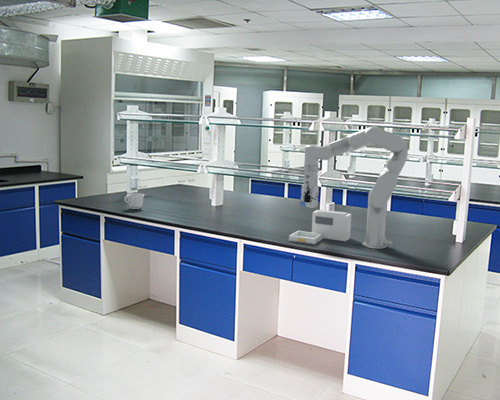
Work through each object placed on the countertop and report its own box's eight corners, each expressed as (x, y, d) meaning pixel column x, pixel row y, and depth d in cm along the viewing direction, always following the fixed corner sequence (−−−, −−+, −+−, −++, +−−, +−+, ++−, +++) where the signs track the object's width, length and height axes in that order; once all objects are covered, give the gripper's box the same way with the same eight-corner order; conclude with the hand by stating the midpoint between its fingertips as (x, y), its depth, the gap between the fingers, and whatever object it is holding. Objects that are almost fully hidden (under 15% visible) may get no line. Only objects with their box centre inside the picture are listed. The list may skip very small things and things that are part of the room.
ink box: (299, 205, 284) (301, 184, 282) (305, 204, 287) (306, 183, 285) (312, 208, 278) (313, 186, 276) (318, 207, 281) (319, 185, 279)
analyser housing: (350, 238, 293) (351, 212, 291) (345, 241, 285) (347, 215, 283) (316, 233, 302) (317, 208, 299) (311, 236, 294) (312, 211, 292)
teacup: (119, 209, 358) (119, 194, 356) (137, 206, 368) (137, 192, 367) (130, 211, 350) (129, 197, 348) (148, 209, 360) (148, 194, 359)
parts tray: (322, 239, 289) (322, 233, 289) (314, 244, 277) (314, 239, 277) (297, 235, 296) (298, 230, 295) (288, 241, 283) (288, 235, 283)
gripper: (312, 170, 270) (310, 204, 273) (322, 167, 285) (320, 199, 288) (298, 169, 273) (297, 202, 276) (309, 166, 288) (308, 198, 291)
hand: (309, 200), depth 282 cm, fingers closed on ink box, 6 cm apart
